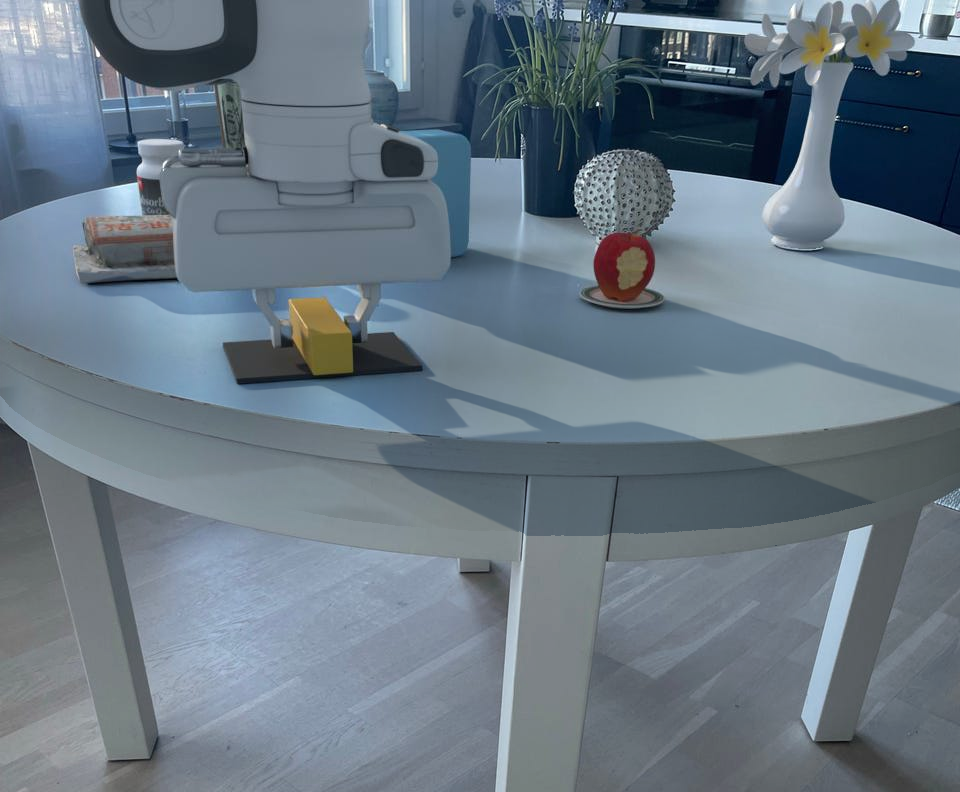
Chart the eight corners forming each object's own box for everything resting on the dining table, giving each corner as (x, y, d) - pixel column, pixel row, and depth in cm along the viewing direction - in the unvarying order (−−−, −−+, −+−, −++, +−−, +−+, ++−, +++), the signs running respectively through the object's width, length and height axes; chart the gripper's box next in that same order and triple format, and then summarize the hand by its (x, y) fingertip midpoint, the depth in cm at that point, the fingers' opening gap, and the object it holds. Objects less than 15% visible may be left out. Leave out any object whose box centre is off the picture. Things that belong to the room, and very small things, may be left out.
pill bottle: (134, 241, 111) (120, 141, 106) (175, 233, 115) (163, 136, 110) (170, 249, 108) (157, 147, 103) (210, 241, 112) (199, 142, 107)
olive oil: (245, 197, 135) (225, -28, 121) (321, 202, 133) (309, -25, 120) (211, 211, 126) (185, -29, 112) (292, 217, 124) (276, -26, 111)
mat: (237, 384, 74) (236, 378, 73) (222, 347, 81) (222, 342, 81) (422, 370, 78) (422, 365, 77) (393, 336, 85) (393, 331, 85)
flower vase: (745, 226, 129) (783, -6, 116) (887, 250, 120) (946, 0, 106) (694, 241, 121) (729, -8, 107) (842, 268, 111) (901, -2, 98)
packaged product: (249, 204, 105) (267, 224, 98) (253, 253, 108) (271, 276, 100) (65, 210, 100) (69, 231, 92) (74, 261, 102) (78, 286, 95)
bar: (313, 375, 75) (311, 334, 73) (290, 336, 82) (288, 298, 81) (353, 372, 75) (352, 332, 74) (327, 334, 83) (325, 296, 82)
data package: (446, 247, 113) (448, 128, 107) (469, 255, 110) (472, 133, 104) (352, 258, 108) (348, 133, 101) (373, 267, 104) (370, 139, 98)
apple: (680, 303, 97) (690, 230, 93) (628, 317, 92) (637, 242, 88) (614, 286, 101) (621, 216, 98) (562, 299, 96) (567, 226, 93)
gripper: (158, 155, 66) (185, 365, 73) (459, 152, 71) (455, 347, 79) (152, 141, 71) (178, 340, 78) (434, 139, 76) (433, 324, 84)
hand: (319, 343), depth 79 cm, fingers open, 4 cm apart
